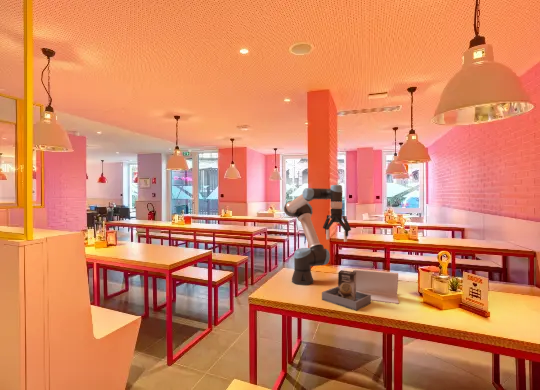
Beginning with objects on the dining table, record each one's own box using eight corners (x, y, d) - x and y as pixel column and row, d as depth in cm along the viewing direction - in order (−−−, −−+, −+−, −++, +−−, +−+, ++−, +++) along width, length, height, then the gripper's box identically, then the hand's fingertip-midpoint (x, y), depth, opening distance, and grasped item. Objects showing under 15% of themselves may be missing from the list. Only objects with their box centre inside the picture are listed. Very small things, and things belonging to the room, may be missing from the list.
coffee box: (337, 300, 158) (337, 272, 159) (340, 297, 164) (340, 269, 164) (354, 303, 154) (354, 274, 154) (356, 299, 160) (356, 271, 160)
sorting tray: (322, 299, 162) (322, 292, 162) (337, 293, 173) (337, 286, 173) (356, 310, 146) (356, 302, 146) (370, 303, 157) (370, 295, 157)
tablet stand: (398, 304, 156) (398, 274, 156) (352, 298, 165) (352, 269, 165) (396, 294, 173) (396, 266, 173) (354, 289, 182) (354, 263, 182)
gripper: (317, 207, 190) (317, 238, 190) (350, 208, 172) (350, 243, 172) (324, 207, 195) (324, 237, 195) (356, 208, 177) (356, 241, 177)
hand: (336, 240), depth 183 cm, fingers open, 13 cm apart
